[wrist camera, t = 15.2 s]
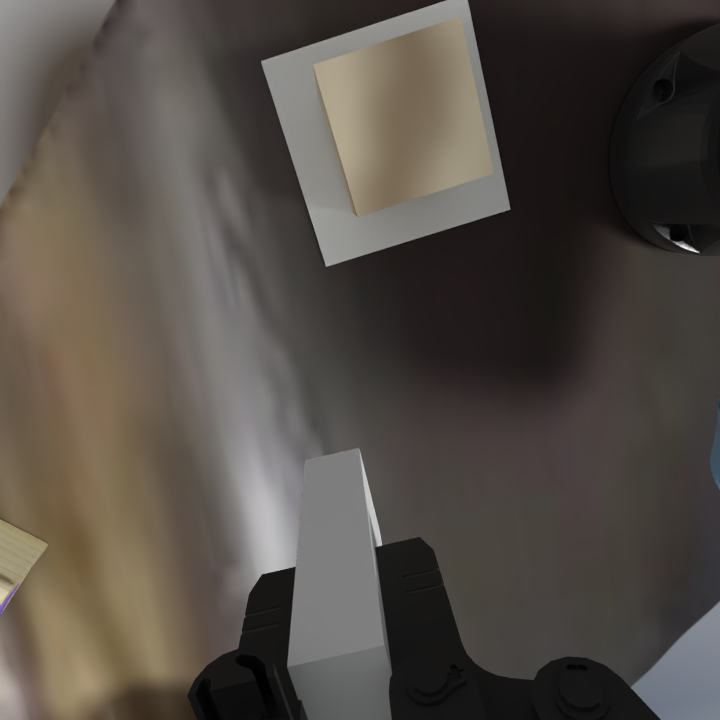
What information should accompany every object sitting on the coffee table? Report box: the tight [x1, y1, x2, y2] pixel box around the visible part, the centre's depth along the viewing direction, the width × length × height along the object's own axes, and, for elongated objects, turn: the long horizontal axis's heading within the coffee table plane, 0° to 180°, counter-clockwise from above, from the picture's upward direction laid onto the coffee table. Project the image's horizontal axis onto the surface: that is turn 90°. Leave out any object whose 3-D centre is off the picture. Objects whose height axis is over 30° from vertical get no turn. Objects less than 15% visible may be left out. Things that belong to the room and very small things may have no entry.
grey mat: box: [261, 0, 511, 267], centre depth 36 cm, size 14×14×1 cm
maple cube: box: [313, 16, 494, 217], centre depth 32 cm, size 8×8×8 cm
